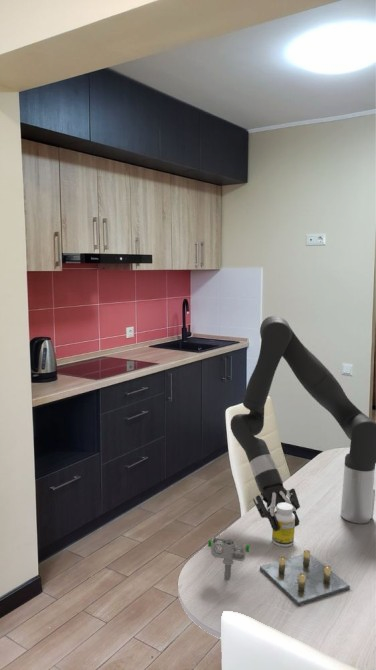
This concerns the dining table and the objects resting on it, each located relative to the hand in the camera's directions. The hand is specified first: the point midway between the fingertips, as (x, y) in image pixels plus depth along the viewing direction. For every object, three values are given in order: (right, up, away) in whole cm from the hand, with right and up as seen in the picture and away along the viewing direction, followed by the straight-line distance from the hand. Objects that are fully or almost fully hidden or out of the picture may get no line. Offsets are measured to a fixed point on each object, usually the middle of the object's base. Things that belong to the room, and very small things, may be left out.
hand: (287, 527), depth 149 cm
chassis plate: (+1, -7, -16) cm, 17 cm away
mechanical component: (-18, -7, -16) cm, 26 cm away
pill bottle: (-1, -5, +2) cm, 6 cm away
